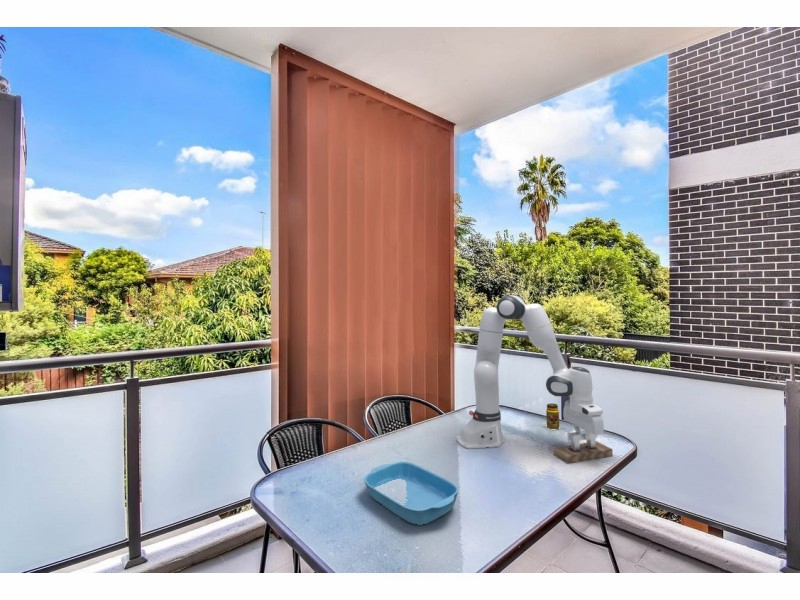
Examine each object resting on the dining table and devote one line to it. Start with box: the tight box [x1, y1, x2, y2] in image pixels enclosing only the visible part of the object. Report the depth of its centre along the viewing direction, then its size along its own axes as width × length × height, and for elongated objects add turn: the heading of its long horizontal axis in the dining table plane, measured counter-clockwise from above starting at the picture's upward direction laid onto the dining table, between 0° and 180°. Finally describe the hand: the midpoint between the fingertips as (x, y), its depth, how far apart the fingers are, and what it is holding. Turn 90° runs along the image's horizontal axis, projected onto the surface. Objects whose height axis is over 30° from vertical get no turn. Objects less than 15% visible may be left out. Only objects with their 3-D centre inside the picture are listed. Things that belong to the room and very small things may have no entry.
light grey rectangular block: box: [567, 430, 598, 452], centre depth 162 cm, size 12×3×8 cm, turn 104°
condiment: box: [542, 403, 563, 430], centre depth 196 cm, size 7×8×12 cm
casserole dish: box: [363, 461, 459, 526], centre depth 132 cm, size 37×22×7 cm, turn 39°
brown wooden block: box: [553, 440, 613, 465], centre depth 162 cm, size 22×9×3 cm, turn 104°
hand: (582, 437), depth 162 cm, fingers closed on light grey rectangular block, 3 cm apart
